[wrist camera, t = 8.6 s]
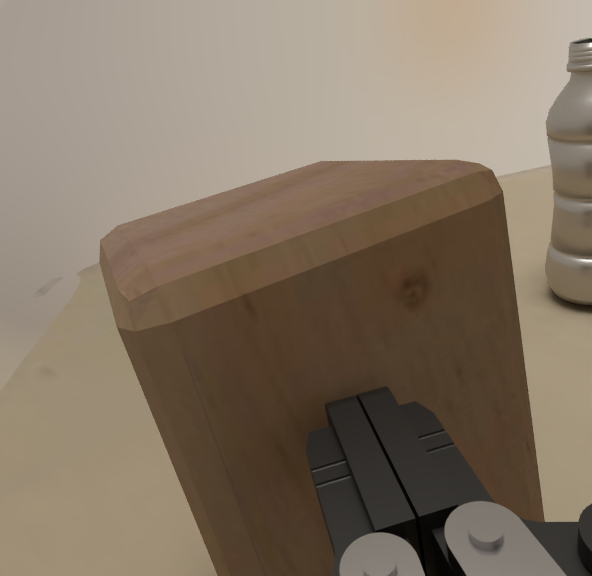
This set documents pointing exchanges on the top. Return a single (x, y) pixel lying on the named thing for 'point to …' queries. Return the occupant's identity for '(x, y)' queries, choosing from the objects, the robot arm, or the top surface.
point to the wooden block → (321, 338)
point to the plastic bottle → (572, 181)
